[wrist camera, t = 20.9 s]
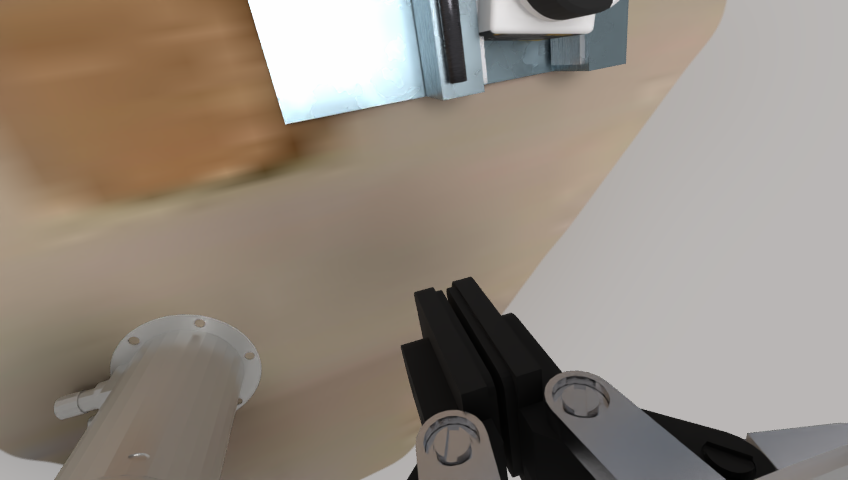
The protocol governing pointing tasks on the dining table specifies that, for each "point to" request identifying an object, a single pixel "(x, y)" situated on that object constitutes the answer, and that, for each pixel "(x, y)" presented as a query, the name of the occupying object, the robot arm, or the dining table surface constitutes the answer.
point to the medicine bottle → (537, 18)
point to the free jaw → (450, 47)
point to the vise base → (396, 53)
